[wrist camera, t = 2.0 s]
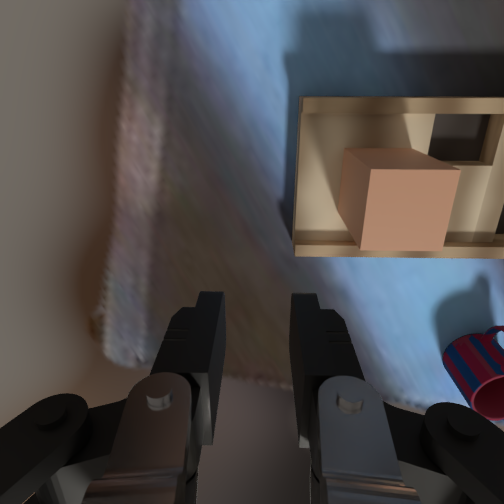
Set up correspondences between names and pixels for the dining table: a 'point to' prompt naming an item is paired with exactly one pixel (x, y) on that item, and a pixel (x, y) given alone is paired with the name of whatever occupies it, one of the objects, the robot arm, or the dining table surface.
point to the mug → (478, 371)
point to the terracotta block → (396, 198)
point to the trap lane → (401, 136)
